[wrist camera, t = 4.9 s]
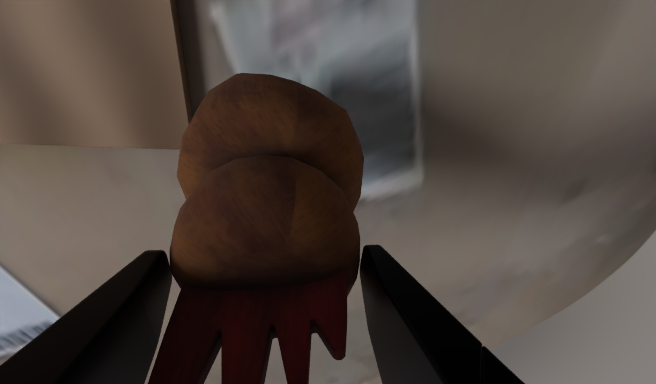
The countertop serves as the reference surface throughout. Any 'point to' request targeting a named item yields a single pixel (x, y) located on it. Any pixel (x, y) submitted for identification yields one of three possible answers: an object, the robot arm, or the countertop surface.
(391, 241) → the countertop surface
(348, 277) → the wooden figurine
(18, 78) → the light brown wooden board
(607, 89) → the countertop surface
